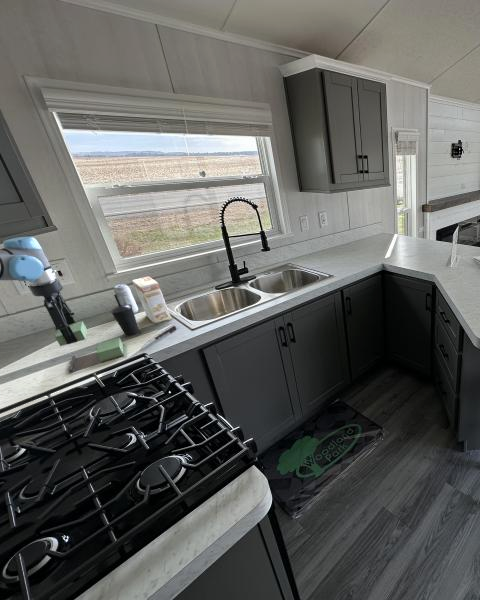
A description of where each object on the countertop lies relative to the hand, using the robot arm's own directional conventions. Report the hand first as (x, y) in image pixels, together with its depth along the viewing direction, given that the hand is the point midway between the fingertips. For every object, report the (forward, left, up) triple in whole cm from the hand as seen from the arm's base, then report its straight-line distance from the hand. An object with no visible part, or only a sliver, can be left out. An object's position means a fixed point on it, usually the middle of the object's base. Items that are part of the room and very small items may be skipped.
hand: (74, 337), depth 123 cm
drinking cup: (+15, +15, -12) cm, 24 cm away
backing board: (+4, 0, -12) cm, 12 cm away
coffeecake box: (+25, +27, -12) cm, 39 cm away
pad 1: (0, 0, 0) cm, 0 cm away
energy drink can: (+15, +44, -12) cm, 48 cm away
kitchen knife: (+24, +2, -12) cm, 27 cm away
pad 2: (+8, 0, -11) cm, 13 cm away
